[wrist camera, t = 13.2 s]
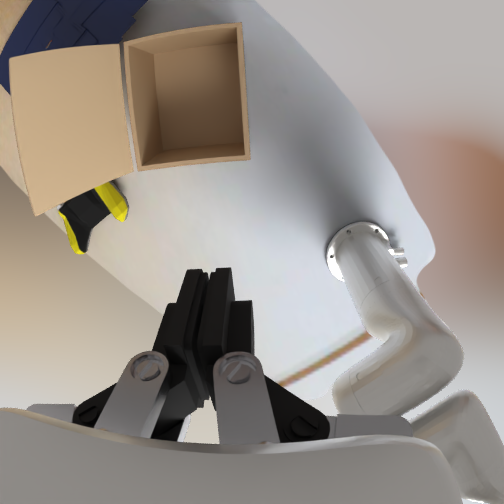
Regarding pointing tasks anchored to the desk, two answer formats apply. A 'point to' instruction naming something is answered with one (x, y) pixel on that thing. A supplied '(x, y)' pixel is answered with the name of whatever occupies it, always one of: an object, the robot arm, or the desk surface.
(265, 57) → the desk surface
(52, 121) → the flap
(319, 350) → the desk surface
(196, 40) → the carton
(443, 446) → the robot arm
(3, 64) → the folded navy cloth
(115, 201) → the gaming controller
